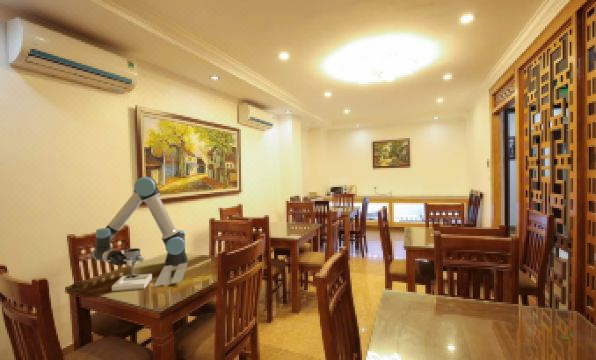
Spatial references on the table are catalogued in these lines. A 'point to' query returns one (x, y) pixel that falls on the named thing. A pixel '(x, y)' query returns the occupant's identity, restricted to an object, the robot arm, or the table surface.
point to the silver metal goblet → (132, 259)
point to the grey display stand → (171, 274)
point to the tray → (132, 283)
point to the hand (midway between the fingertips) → (137, 261)
